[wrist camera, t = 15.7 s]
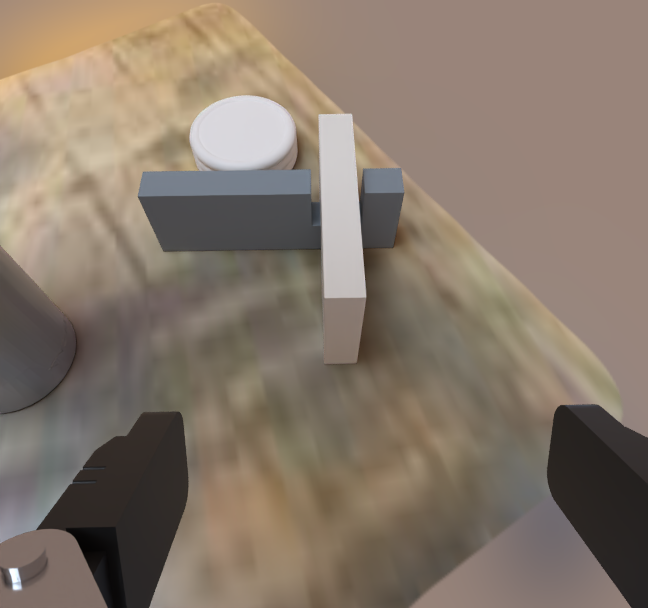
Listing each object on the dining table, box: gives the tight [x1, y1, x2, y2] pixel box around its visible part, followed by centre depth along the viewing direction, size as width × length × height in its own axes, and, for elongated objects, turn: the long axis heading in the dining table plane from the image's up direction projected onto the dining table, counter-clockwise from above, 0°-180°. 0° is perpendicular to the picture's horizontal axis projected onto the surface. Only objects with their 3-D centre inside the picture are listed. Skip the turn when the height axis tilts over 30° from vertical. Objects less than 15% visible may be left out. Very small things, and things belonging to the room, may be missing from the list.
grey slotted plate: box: [138, 168, 404, 251], centre depth 42 cm, size 20×2×7 cm, turn 91°
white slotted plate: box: [319, 114, 366, 364], centre depth 38 cm, size 16×2×10 cm, turn 1°
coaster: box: [190, 95, 298, 171], centre depth 49 cm, size 10×10×4 cm
